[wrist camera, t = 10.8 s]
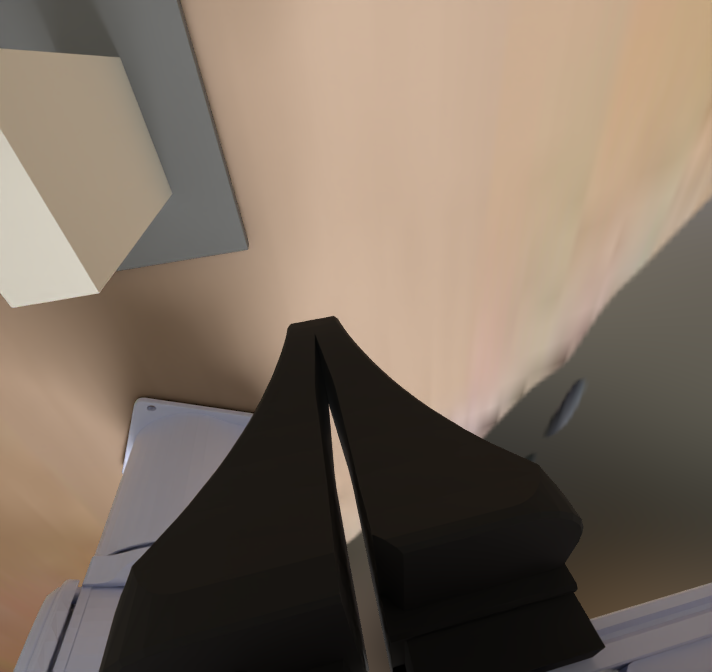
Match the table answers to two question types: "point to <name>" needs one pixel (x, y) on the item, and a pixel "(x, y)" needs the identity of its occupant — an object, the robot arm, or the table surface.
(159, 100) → the domino mat
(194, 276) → the table surface
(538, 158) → the table surface
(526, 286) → the table surface
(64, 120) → the domino
